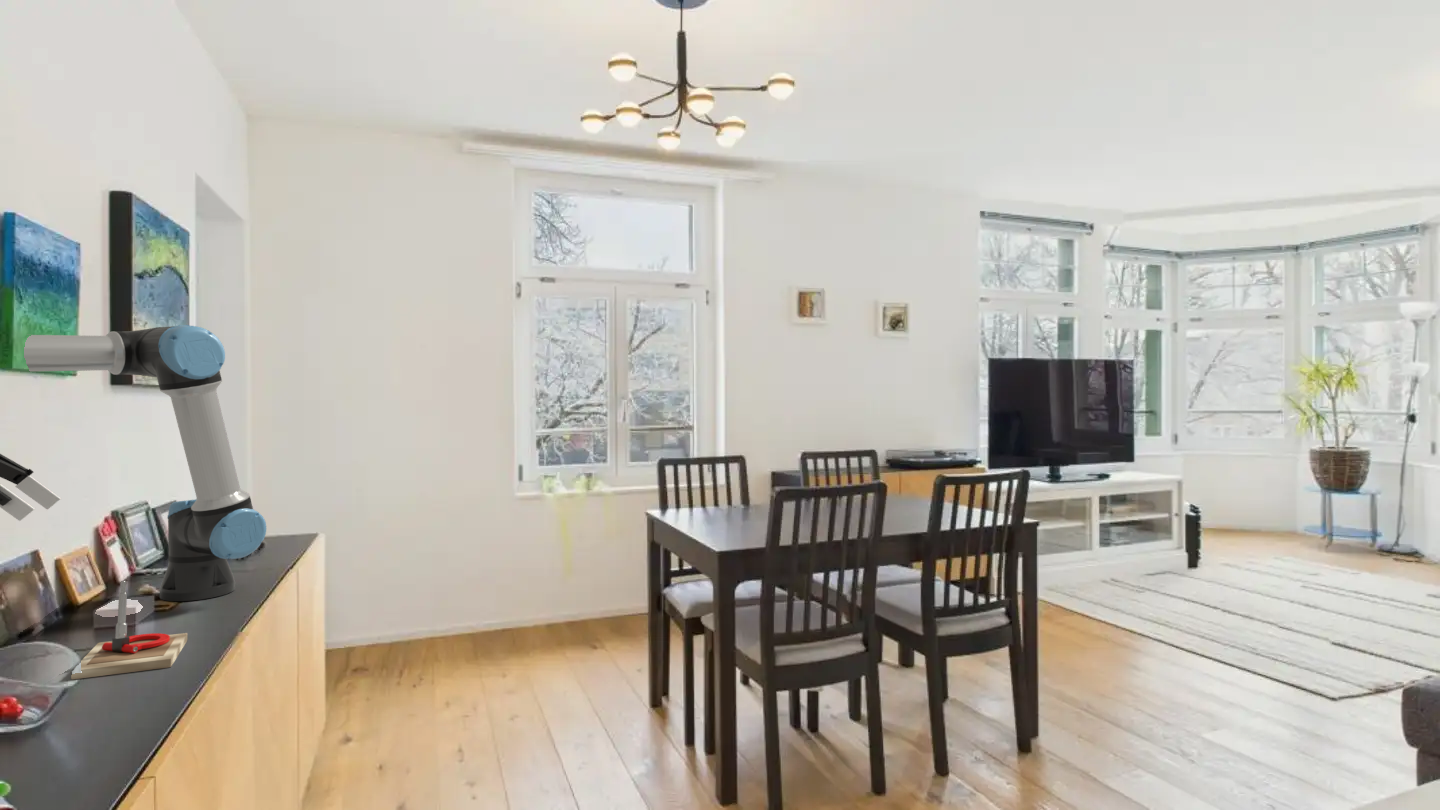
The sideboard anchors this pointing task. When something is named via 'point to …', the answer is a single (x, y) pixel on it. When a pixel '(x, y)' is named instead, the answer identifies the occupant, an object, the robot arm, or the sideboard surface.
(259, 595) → the sideboard surface
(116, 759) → the sideboard surface
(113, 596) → the sideboard surface
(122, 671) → the wooden tray
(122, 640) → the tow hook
